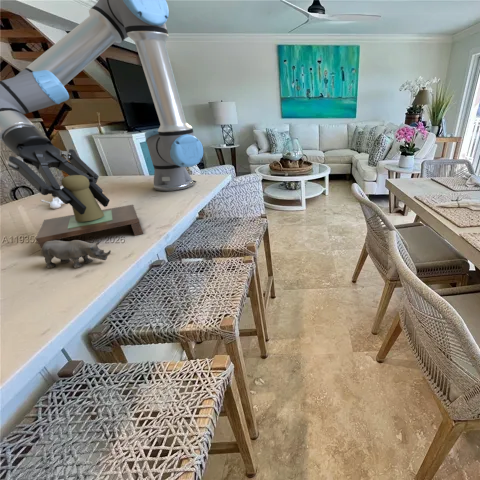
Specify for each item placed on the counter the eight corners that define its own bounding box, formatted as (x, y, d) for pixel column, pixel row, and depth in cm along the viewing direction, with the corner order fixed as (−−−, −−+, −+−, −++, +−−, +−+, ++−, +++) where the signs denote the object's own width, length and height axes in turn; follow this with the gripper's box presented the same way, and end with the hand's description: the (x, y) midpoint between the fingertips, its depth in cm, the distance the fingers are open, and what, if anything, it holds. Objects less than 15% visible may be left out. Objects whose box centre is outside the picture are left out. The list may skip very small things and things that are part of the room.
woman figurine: (84, 182, 104) (72, 197, 90) (89, 193, 106) (77, 209, 93) (46, 185, 99) (26, 202, 86) (51, 196, 102) (33, 215, 88)
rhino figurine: (108, 268, 57) (98, 243, 55) (42, 270, 57) (28, 245, 54) (120, 258, 61) (111, 235, 58) (58, 260, 60) (46, 236, 58)
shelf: (137, 218, 83) (132, 203, 81) (143, 233, 73) (137, 217, 71) (52, 235, 72) (43, 219, 70) (45, 256, 62) (35, 237, 60)
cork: (102, 211, 74) (86, 171, 69) (106, 217, 70) (90, 175, 65) (74, 217, 70) (55, 175, 65) (77, 223, 66) (57, 180, 61)
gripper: (61, 143, 74) (124, 204, 77) (-32, 152, 59) (52, 229, 62) (66, 122, 70) (132, 188, 73) (-32, 127, 55) (57, 210, 58)
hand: (95, 207), depth 68 cm, fingers closed on cork, 5 cm apart
